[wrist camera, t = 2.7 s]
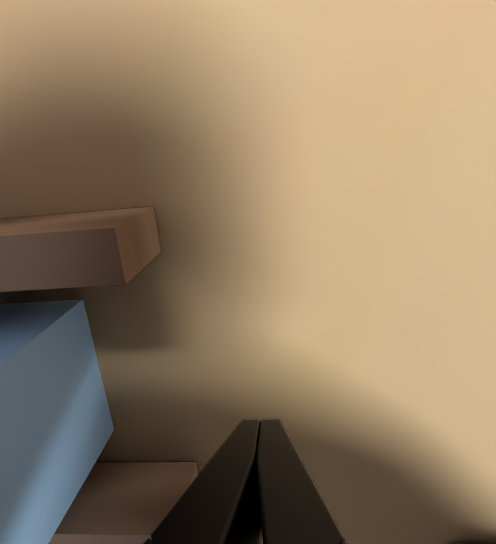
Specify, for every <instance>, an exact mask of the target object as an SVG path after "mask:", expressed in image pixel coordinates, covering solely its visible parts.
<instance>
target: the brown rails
mask: <svg viewBox="0 0 496 544" xmlns="http://www.w3.org/2000/svg"><path fill="white" fill-rule="evenodd" d="M160 252H161V248H160V242H159V236H158V230H157V224H156V218H155V212H154V207H141V208H129V209H116V210H104V211H92V212H79V213H67V214H54V215H42V216H30V217H17V218H5V219H0V303H1V302H2V301H4V300H6V299H7V298H9V297H11V296H13V295H14V294H16V293H18V292H19V291H24V290H41V289H58V288H75V287H92V286H109V285H126V284H127V283H128V282H129V281H130V280H131V279H132V278H133V277H134V276H136V275H137V274H138V273H139V272H140V271H141V270H142V269H143V268H144V267H145V266H146V265H147V264H148V263H149V262H151V261H152V260H153V259H154V258H155V257H156V256H157V255H158V254H159V253H160ZM197 475H198V471H197V465H196V462H126V463H95V464H94V466H93V468H92V469H91V471H90V473H89V474H88V476H87V478H86V480H85V481H84V483H83V485H82V486H81V488H80V490H79V492H78V493H77V495H76V497H75V498H74V500H73V502H72V504H71V505H70V507H69V509H68V511H67V512H66V514H65V516H64V517H63V519H62V521H61V523H60V524H59V526H58V528H57V529H56V531H55V533H54V535H53V536H52V538H51V540H50V542H49V543H48V544H143V543H144V542H145V541H146V539H148V538H150V535H151V533H152V532H153V531H154V530H155V528H156V527H157V526H158V525H159V523H160V522H161V521H162V520H163V518H164V517H165V516H166V515H167V513H168V512H169V511H170V510H171V508H172V507H173V506H174V504H175V503H176V502H177V501H178V499H179V498H180V497H181V496H182V494H183V493H184V492H185V491H186V489H187V488H188V487H189V486H190V484H191V483H192V482H193V481H194V479H195V478H196V477H197Z"/></svg>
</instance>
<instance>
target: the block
mask: <svg viewBox="0 0 496 544" xmlns="http://www.w3.org/2000/svg"><path fill="white" fill-rule="evenodd" d="M113 431H114V427H113V422H112V418H111V414H110V410H109V406H108V402H107V397H106V393H105V389H104V385H103V381H102V377H101V372H100V368H99V364H98V360H97V356H96V351H95V347H94V343H93V339H92V335H91V331H90V326H89V322H88V318H87V314H86V310H85V306H84V301H83V299H79V300H61V301H44V302H26V303H8V304H0V544H48V543H49V542H50V540H51V538H52V536H53V535H54V533H55V531H56V529H57V528H58V526H59V524H60V523H61V521H62V519H63V517H64V516H65V514H66V512H67V511H68V509H69V507H70V505H71V504H72V502H73V500H74V498H75V497H76V495H77V493H78V492H79V490H80V488H81V486H82V485H83V483H84V481H85V480H86V478H87V476H88V474H89V473H90V471H91V469H92V468H93V466H94V464H95V462H96V461H97V459H98V457H99V455H100V454H101V452H102V450H103V449H104V447H105V445H106V443H107V442H108V440H109V438H110V437H111V435H112V433H113Z"/></svg>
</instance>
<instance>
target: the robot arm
mask: <svg viewBox="0 0 496 544" xmlns="http://www.w3.org/2000/svg"><path fill="white" fill-rule="evenodd" d="M262 538H263V544H348V543H347V542H346V541H345V538H344V536H343V534H342V532H341V531H340V529H339V527H338V525H337V523H336V521H335V519H334V518H333V516H332V514H331V512H330V510H329V508H328V507H327V505H326V503H325V501H324V499H323V497H322V495H321V494H320V492H319V490H318V488H317V486H316V484H315V483H314V481H313V479H312V477H311V475H310V473H309V471H308V470H307V468H306V466H305V464H304V462H303V460H302V459H301V457H300V455H299V453H298V451H297V449H296V447H295V446H294V444H293V442H292V440H291V438H290V436H289V435H288V433H287V431H286V429H285V427H284V425H283V423H282V422H281V420H280V419H277V418H274V419H263V420H262V421H260V420H259V419H243V420H241V421H240V423H239V424H238V425H237V426H236V428H235V429H234V430H233V431H232V433H231V434H230V435H229V436H228V438H227V439H226V440H225V441H224V443H223V444H222V445H221V447H220V448H219V449H218V450H217V452H216V453H215V454H214V455H213V457H212V458H211V459H210V460H209V462H208V463H207V464H206V465H205V467H204V468H203V469H202V470H201V472H200V473H199V474H198V475H197V477H196V478H195V479H194V481H193V482H192V483H191V484H190V486H189V487H188V488H187V489H186V491H185V492H184V493H183V494H182V496H181V497H180V498H179V499H178V501H177V502H176V503H175V504H174V506H173V507H172V508H171V510H170V511H169V512H168V513H167V515H166V516H165V517H164V518H163V520H162V521H161V522H160V523H159V525H158V526H157V527H156V528H155V530H154V531H153V532H152V533H151V535H150V538H148V539H146V541H145V542H144V543H143V544H261V543H262Z"/></svg>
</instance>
